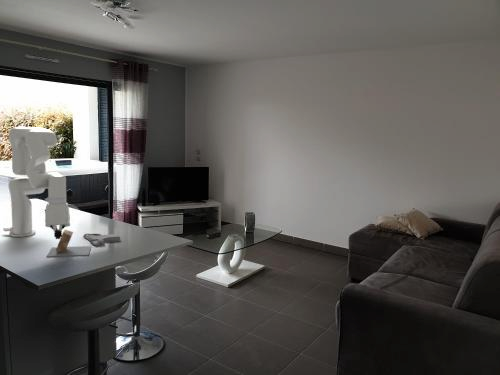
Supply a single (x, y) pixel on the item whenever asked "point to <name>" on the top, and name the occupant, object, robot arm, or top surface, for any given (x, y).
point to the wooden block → (64, 241)
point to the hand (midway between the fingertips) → (58, 238)
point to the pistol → (101, 238)
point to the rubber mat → (70, 251)
